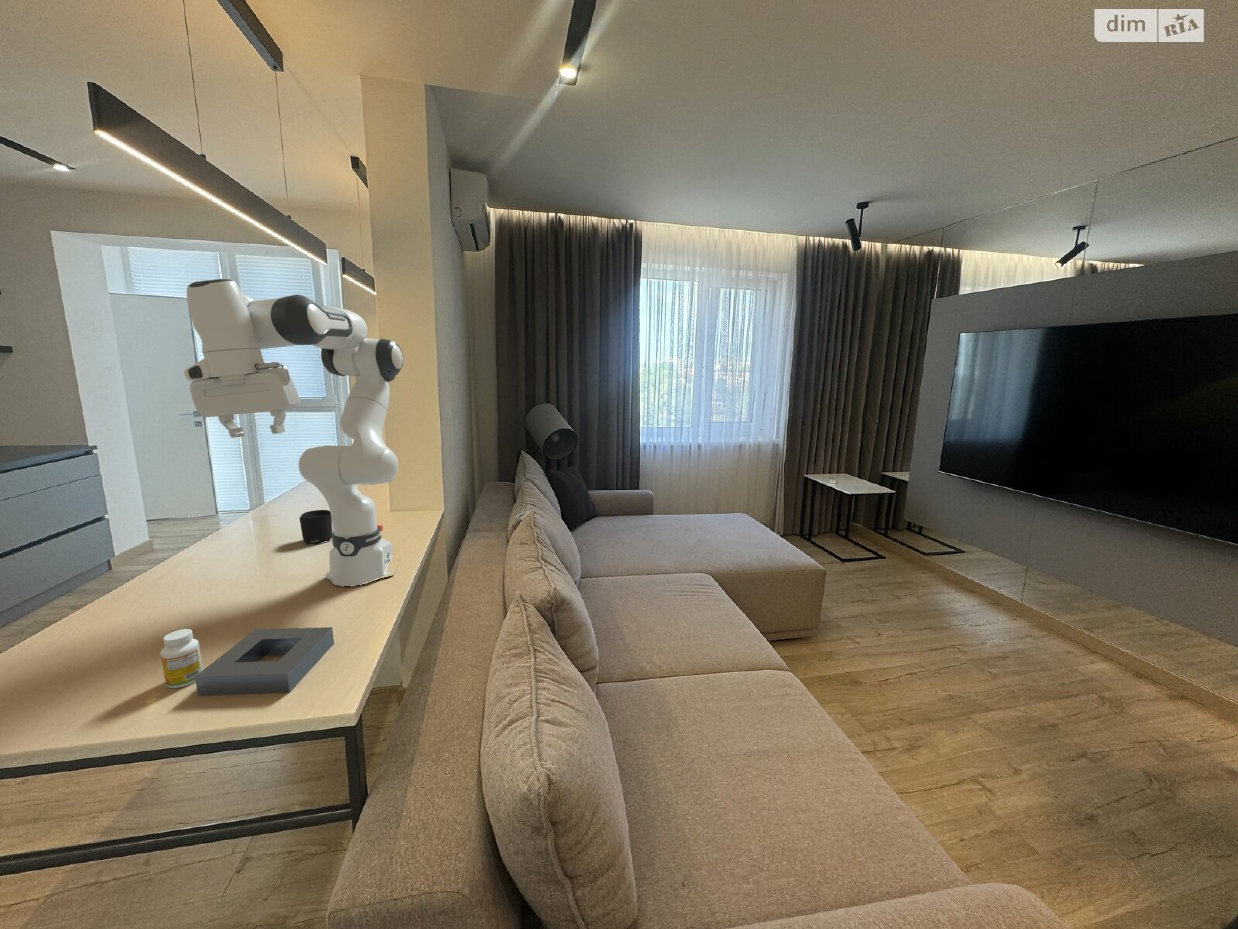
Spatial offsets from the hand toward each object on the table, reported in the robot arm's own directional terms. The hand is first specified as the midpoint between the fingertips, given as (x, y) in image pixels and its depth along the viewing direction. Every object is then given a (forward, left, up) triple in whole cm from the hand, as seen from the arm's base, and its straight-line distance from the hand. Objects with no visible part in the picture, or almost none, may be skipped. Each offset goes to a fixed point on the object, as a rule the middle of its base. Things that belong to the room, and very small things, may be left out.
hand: (258, 435), depth 93 cm
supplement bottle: (+12, -11, -47) cm, 49 cm away
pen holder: (-65, -27, -47) cm, 84 cm away
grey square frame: (+9, +3, -46) cm, 47 cm away
